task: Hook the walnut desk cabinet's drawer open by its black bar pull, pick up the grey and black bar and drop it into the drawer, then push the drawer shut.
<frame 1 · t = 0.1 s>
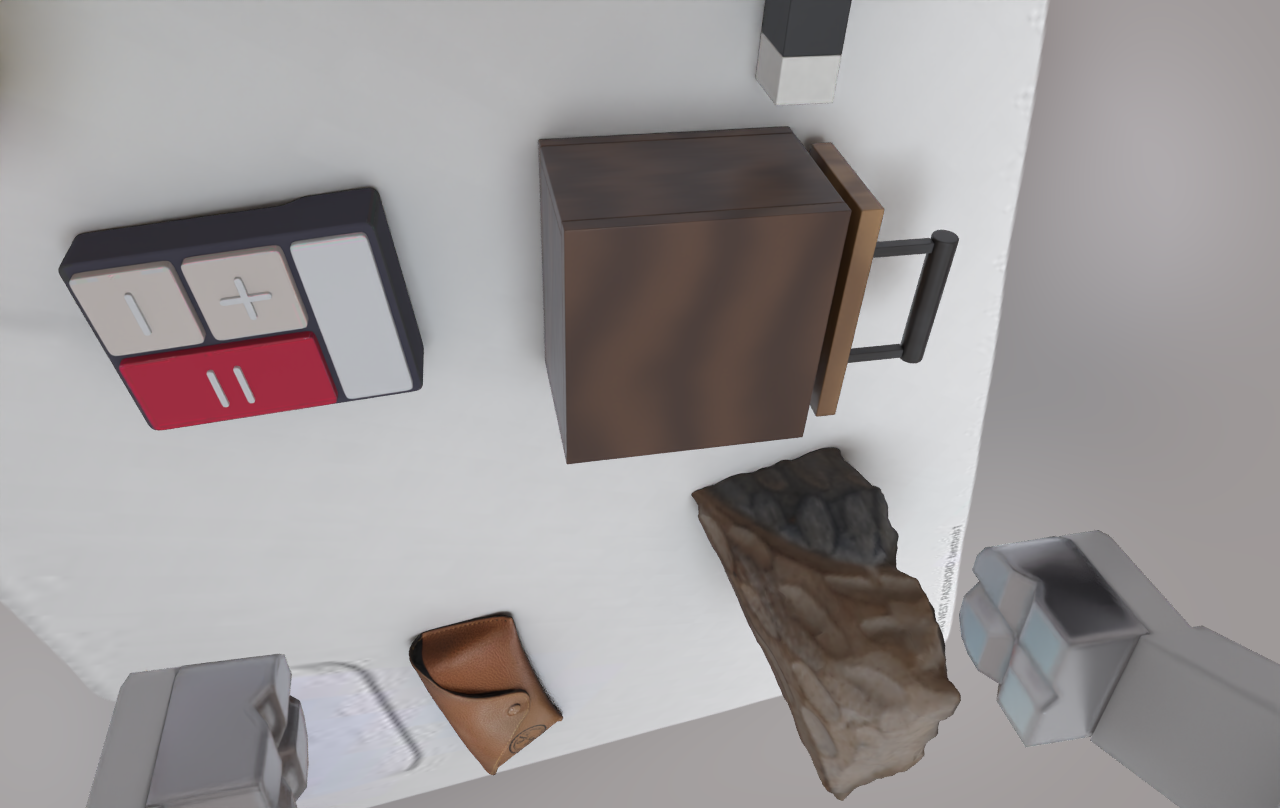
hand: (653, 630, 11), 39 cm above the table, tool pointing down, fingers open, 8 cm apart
owl: (769, 500, 71), on the table
sunglasses case: (492, 677, 79), on the table
cabinet: (659, 251, 54), on the table
calculator: (263, 295, 51), on the table
drawer: (772, 288, 52), point 5 cm above the table, slide at 1.0 cm
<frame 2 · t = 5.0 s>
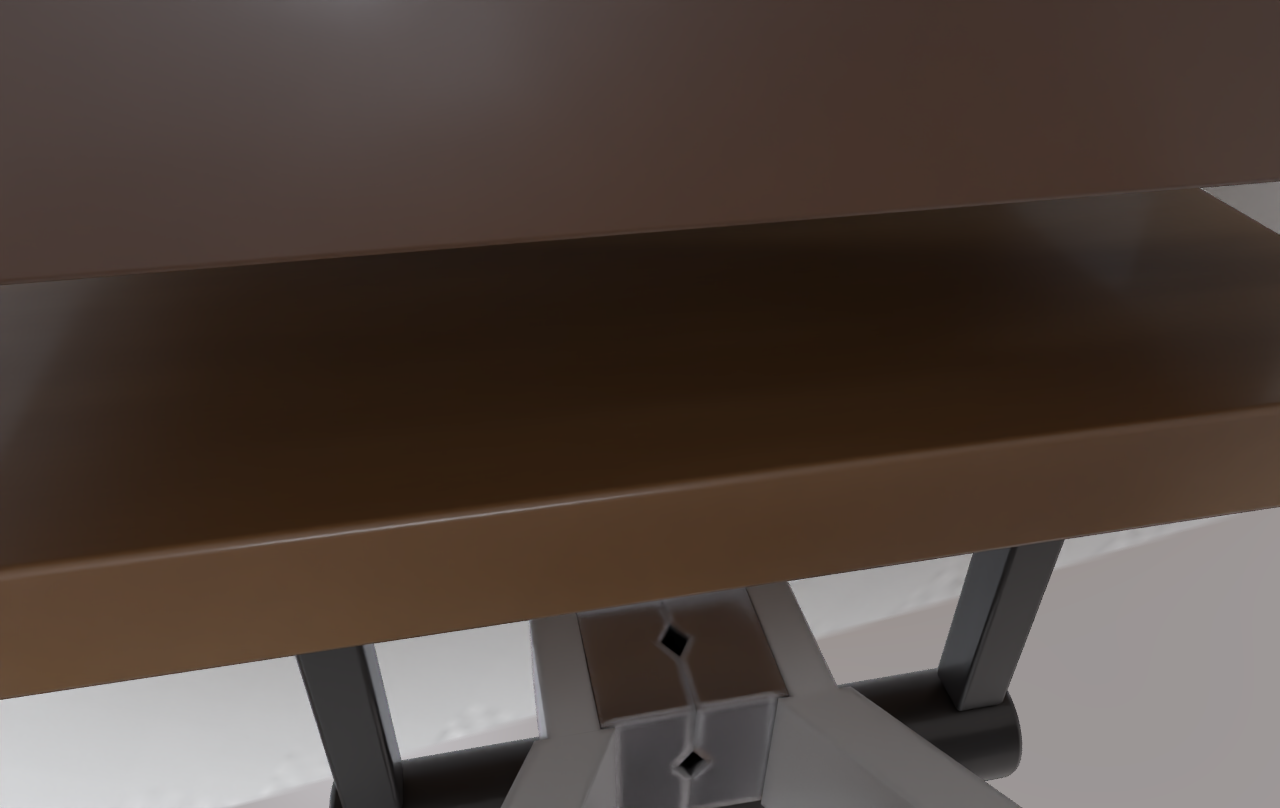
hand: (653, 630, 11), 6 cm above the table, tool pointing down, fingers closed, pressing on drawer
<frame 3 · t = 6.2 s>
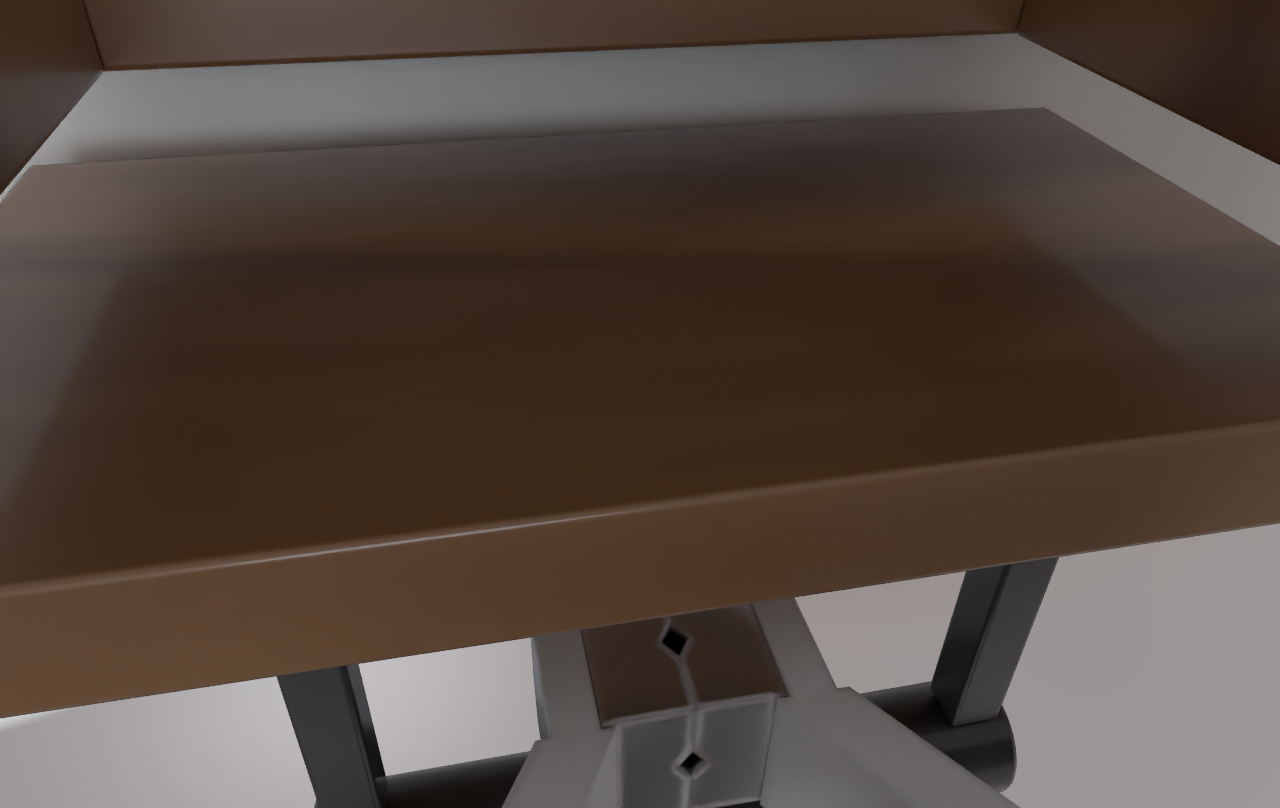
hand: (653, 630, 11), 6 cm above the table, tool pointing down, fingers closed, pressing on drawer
drawer: (650, 3, 8), point 5 cm above the table, slide at 6.9 cm, touching gripper
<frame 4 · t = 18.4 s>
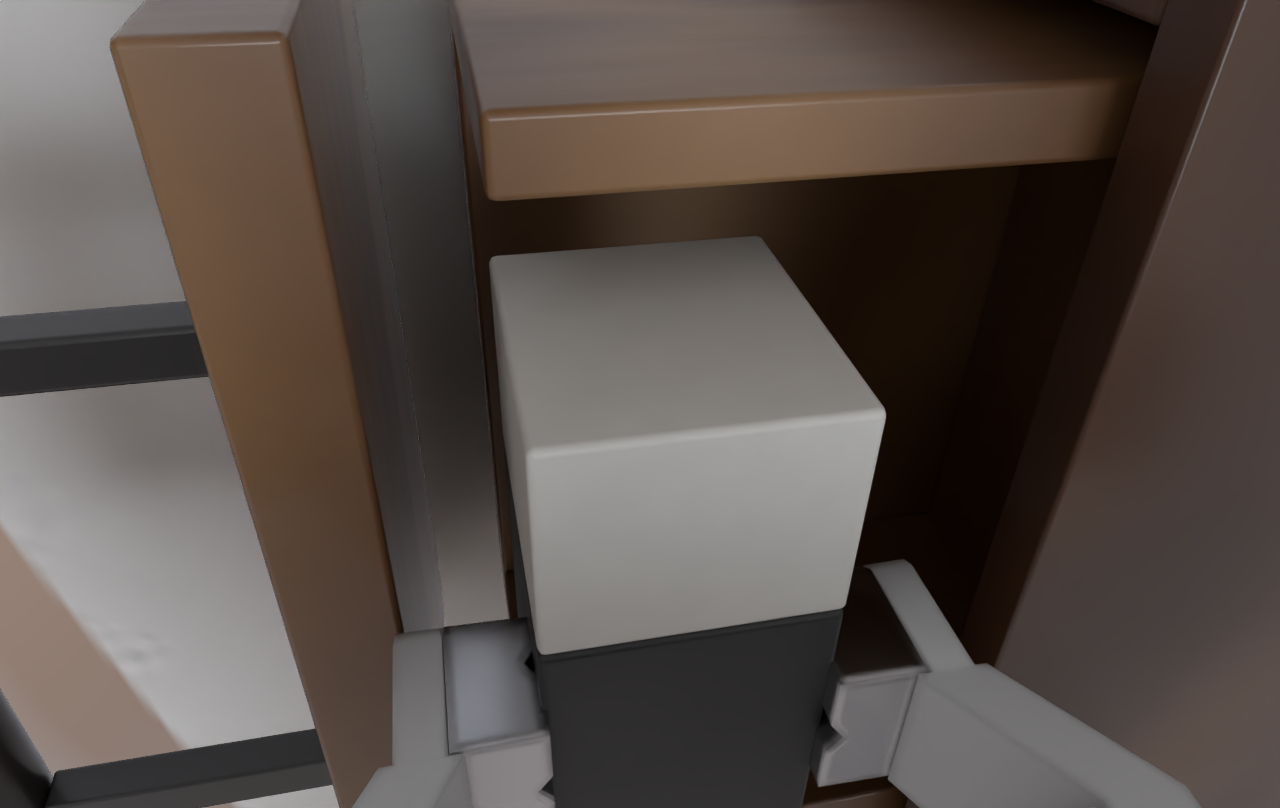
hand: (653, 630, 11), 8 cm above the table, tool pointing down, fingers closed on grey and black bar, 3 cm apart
grey and black bar: (624, 518, 12), point 6 cm above the table, touching gripper
cabinet: (1079, 240, 20), on the table
drawer: (570, 434, 14), point 5 cm above the table, slide at 7.0 cm
when the fingers open (10 cm above the table, at t = 26.9 s): grey and black bar drops 7 cm, resting on drawer.
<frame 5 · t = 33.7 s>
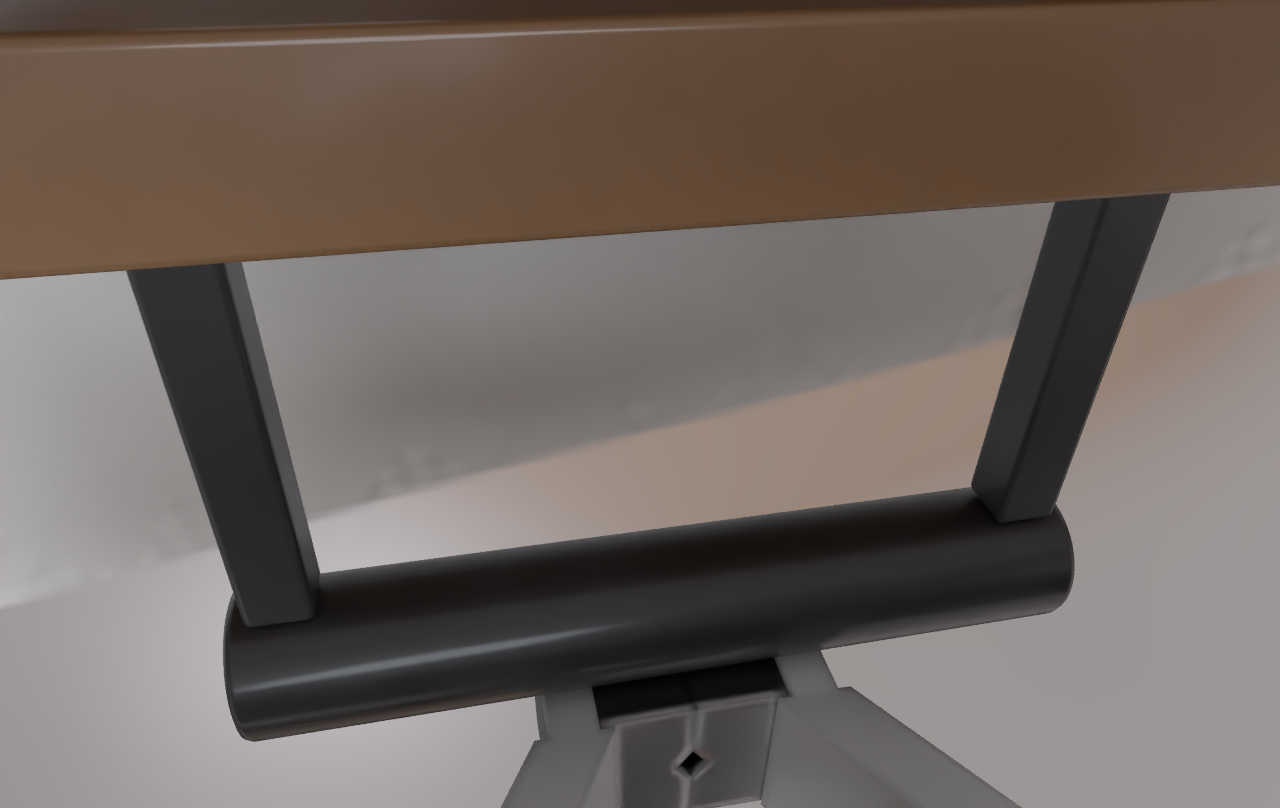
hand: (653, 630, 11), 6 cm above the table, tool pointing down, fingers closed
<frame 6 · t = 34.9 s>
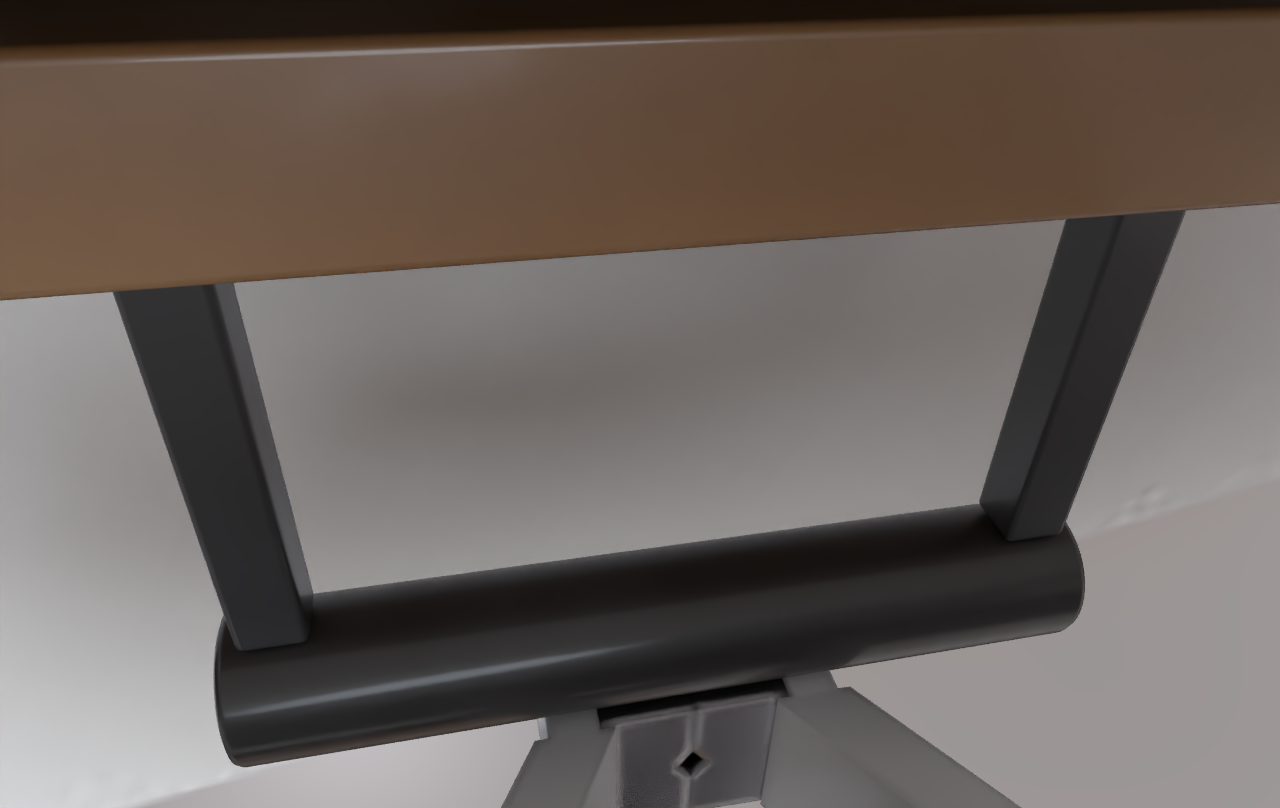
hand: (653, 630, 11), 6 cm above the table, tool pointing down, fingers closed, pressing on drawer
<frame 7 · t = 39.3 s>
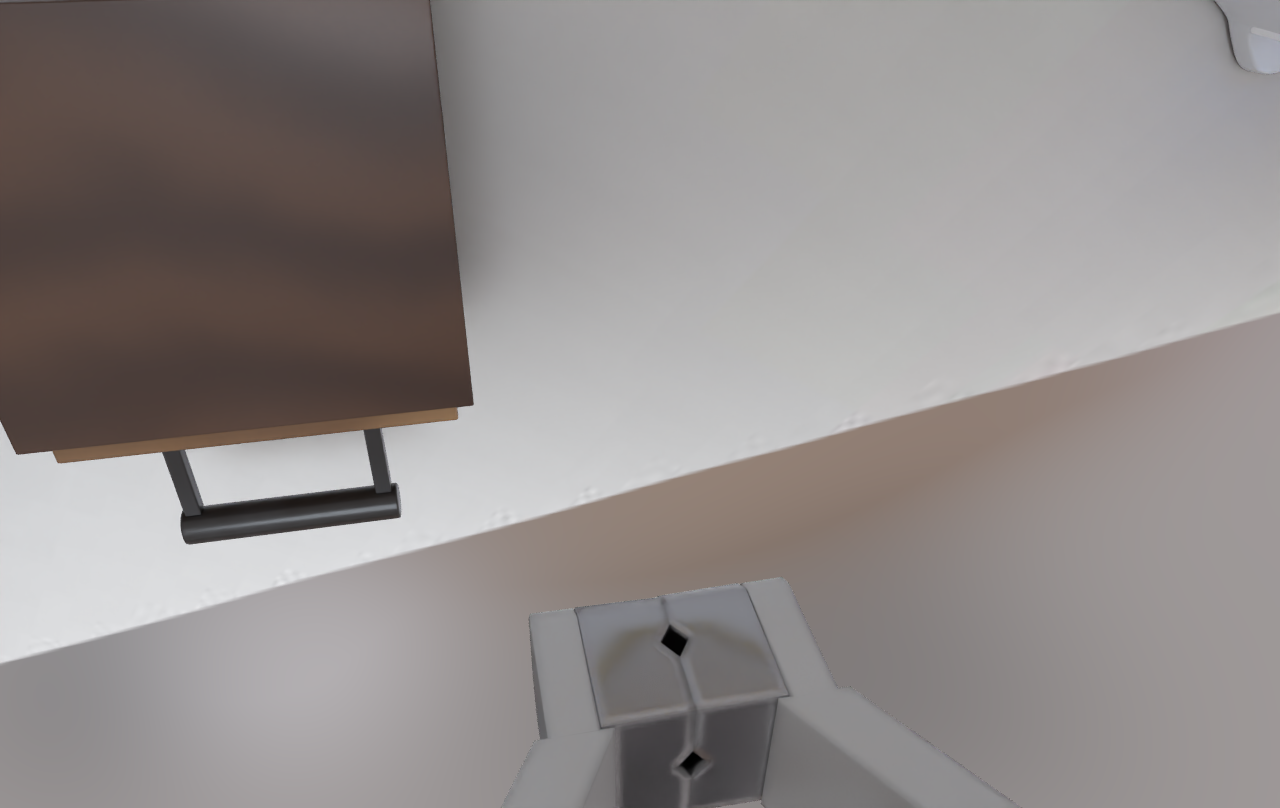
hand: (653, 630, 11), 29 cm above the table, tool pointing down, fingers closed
cabinet: (242, 137, 35), on the table
drawer: (254, 301, 34), point 5 cm above the table, slide at 0.0 cm, touching grey and black bar
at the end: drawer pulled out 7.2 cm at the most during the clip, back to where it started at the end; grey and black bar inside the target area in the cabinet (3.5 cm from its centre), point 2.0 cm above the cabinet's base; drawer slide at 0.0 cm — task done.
